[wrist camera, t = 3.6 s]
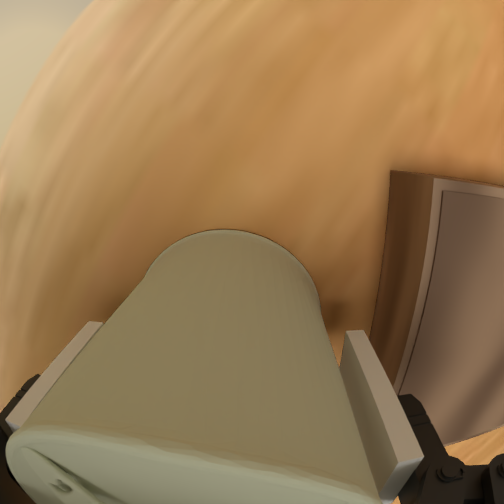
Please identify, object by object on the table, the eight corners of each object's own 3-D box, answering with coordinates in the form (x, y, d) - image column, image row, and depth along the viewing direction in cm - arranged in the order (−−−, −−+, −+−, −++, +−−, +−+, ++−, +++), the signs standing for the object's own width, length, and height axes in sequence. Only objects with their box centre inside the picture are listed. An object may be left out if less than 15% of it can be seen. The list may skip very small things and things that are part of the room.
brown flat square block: (349, 417, 18) (362, 465, 14) (390, 170, 13) (435, 178, 9) (511, 383, 17) (535, 412, 13) (564, 199, 13) (605, 213, 9)
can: (239, 186, 14) (132, 356, 2) (353, 330, 16) (438, 542, 4) (108, 301, 16) (-31, 470, 4) (220, 408, 18) (193, 591, 6)
